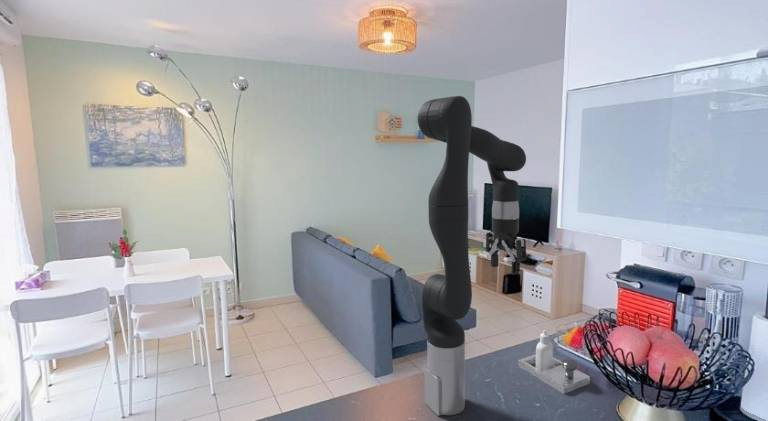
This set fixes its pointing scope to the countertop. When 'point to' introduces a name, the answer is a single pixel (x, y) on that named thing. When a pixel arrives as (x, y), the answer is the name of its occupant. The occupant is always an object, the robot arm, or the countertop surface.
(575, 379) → the bolt plate
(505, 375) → the countertop surface
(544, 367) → the eye dropper bottle
